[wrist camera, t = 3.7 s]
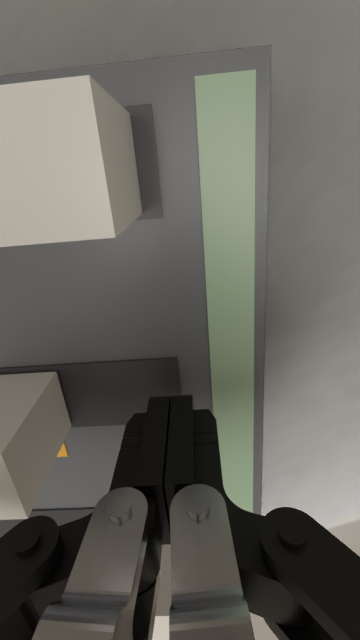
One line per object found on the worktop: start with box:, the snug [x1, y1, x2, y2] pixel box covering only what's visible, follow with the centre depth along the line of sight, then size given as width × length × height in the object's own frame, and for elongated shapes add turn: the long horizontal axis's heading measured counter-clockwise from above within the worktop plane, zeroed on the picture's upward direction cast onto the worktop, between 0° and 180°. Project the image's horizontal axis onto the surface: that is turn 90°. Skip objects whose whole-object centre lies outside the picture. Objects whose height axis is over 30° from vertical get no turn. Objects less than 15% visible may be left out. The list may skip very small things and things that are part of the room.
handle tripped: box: [0, 372, 71, 520], centre depth 11 cm, size 3×2×4 cm
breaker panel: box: [0, 45, 271, 538], centre depth 14 cm, size 21×18×3 cm
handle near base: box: [0, 75, 142, 247], centre depth 8 cm, size 3×2×4 cm
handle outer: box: [152, 544, 172, 640], centre depth 14 cm, size 3×2×4 cm
